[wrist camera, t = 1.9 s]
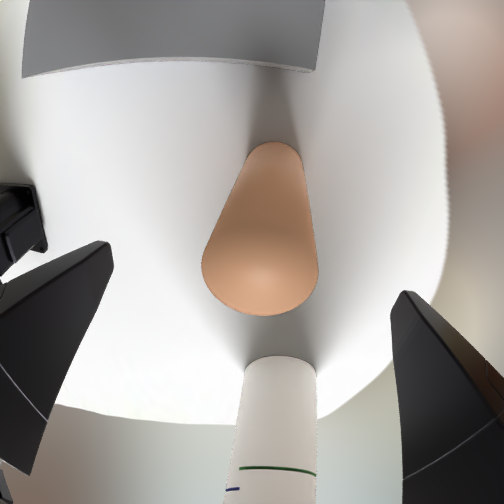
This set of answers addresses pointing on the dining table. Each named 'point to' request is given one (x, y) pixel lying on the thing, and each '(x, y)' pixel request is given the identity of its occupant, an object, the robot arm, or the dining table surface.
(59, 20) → the socket block
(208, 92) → the dining table surface
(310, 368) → the cylindrical container
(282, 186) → the peg
